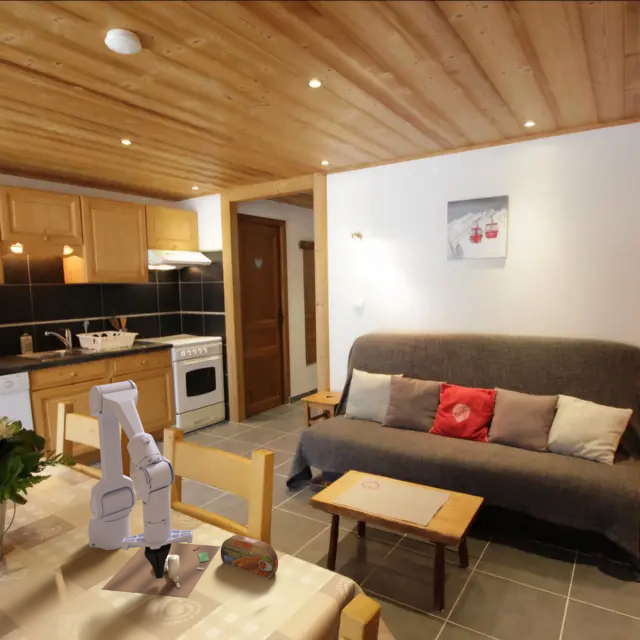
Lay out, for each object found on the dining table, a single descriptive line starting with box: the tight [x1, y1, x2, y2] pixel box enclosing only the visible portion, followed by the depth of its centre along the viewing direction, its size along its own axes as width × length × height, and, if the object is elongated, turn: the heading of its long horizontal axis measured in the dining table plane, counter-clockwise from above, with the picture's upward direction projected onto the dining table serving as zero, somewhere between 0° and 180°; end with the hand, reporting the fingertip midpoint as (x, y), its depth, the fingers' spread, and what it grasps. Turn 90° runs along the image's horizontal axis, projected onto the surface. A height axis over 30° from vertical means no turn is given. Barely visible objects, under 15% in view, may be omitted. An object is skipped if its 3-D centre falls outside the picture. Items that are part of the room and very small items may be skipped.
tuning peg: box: [164, 555, 180, 582], centre depth 105 cm, size 10×5×5 cm, turn 36°
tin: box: [220, 534, 279, 581], centre depth 106 cm, size 15×3×8 cm, turn 62°
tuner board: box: [101, 542, 222, 599], centre depth 108 cm, size 20×19×2 cm
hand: (160, 575), depth 101 cm, fingers closed
